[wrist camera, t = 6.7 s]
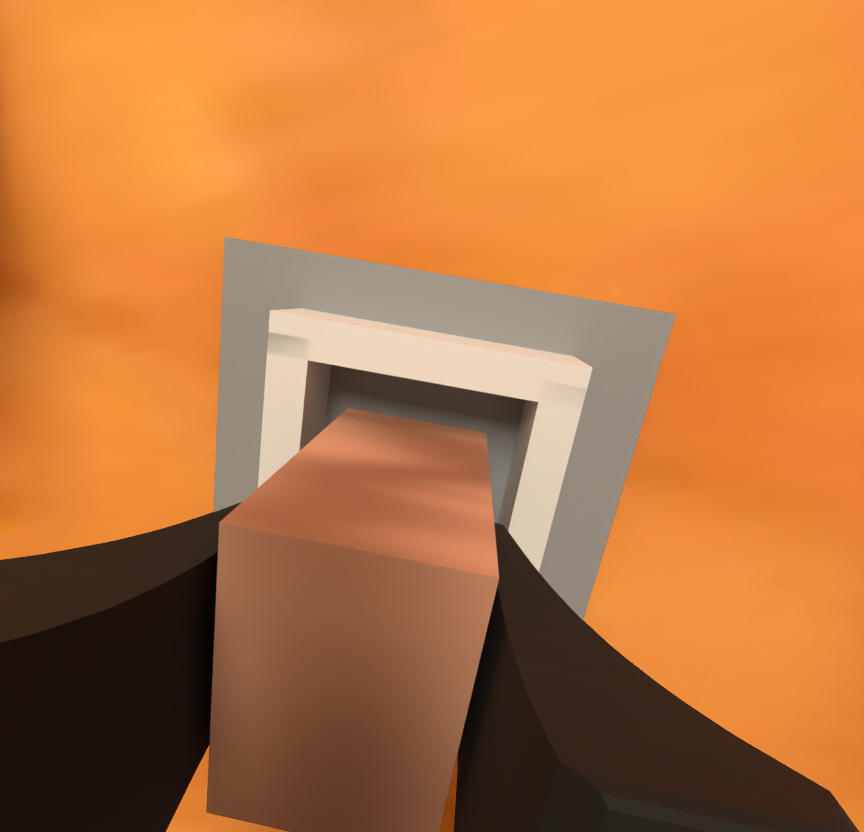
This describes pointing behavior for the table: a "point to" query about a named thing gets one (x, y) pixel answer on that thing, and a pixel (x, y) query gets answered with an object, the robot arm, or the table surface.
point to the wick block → (352, 628)
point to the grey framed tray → (441, 385)
